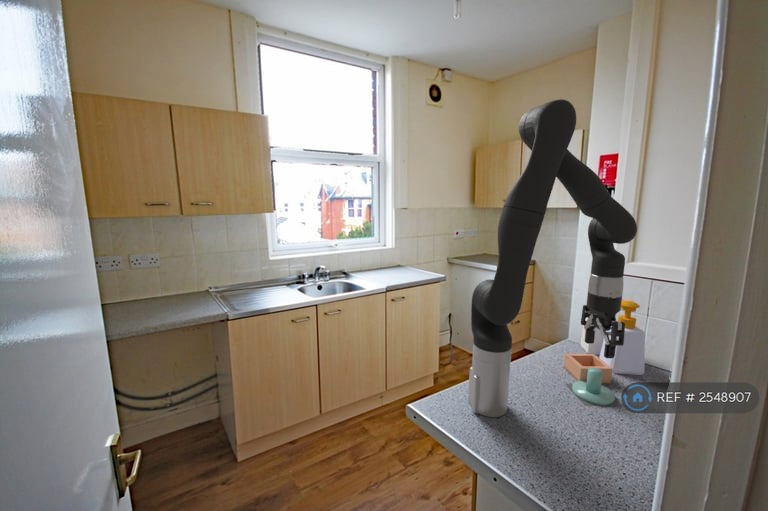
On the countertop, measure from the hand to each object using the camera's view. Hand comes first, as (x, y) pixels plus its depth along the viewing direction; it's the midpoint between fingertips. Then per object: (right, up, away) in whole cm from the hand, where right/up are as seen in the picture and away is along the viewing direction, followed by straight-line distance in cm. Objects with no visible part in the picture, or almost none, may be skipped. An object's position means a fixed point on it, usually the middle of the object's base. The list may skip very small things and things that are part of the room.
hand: (598, 350), depth 90 cm
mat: (0, -13, +2) cm, 13 cm away
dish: (+4, -11, +12) cm, 17 cm away
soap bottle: (+18, -10, +19) cm, 28 cm away
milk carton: (+17, -9, +29) cm, 35 cm away
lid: (0, -13, +2) cm, 13 cm away
